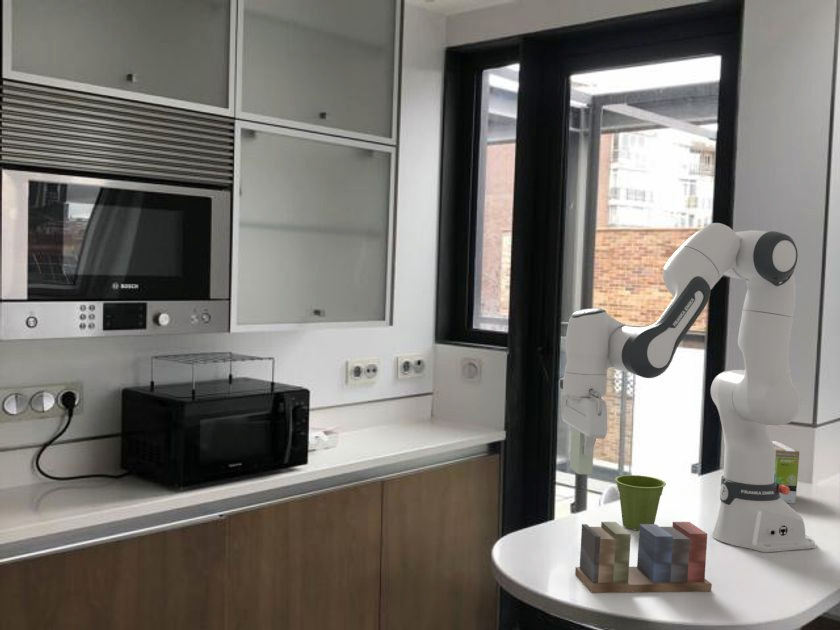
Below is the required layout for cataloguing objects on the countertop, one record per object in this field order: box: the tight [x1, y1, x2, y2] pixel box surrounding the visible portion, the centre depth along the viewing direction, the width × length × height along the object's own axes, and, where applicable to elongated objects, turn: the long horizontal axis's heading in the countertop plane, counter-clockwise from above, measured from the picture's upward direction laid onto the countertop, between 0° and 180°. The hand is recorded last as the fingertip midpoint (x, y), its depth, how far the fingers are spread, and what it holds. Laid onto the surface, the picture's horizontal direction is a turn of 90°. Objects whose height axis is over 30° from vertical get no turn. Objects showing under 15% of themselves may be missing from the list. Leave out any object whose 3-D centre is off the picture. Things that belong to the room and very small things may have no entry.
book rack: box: [574, 521, 713, 594], centre depth 174 cm, size 24×10×11 cm, turn 98°
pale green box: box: [569, 427, 595, 475], centre depth 187 cm, size 3×6×9 cm, turn 7°
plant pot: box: [614, 474, 667, 532], centre depth 213 cm, size 12×12×11 cm
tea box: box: [771, 440, 800, 504], centre depth 249 cm, size 15×10×15 cm
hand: (581, 451), depth 187 cm, fingers closed on pale green box, 6 cm apart
